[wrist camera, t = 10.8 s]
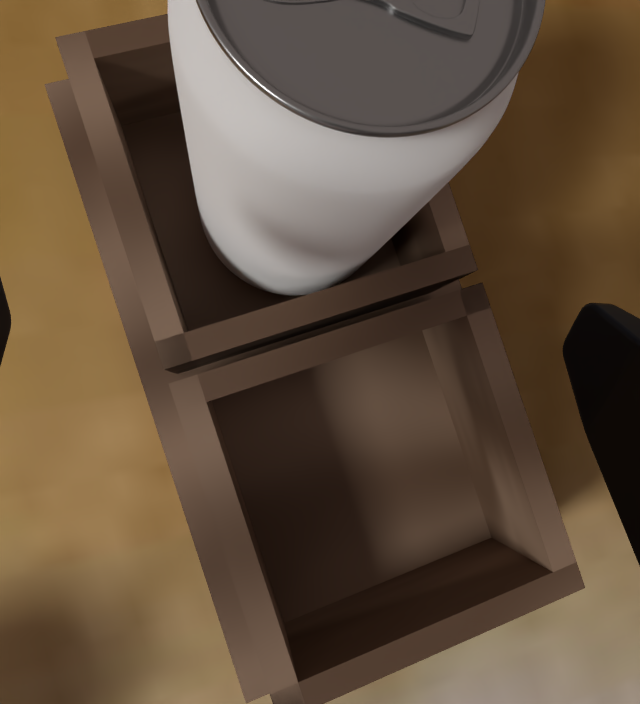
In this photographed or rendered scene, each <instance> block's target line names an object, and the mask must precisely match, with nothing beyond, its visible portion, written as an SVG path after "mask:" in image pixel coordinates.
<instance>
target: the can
mask: <svg viewBox="0 0 640 704" xmlns="http://www.w3.org/2000/svg"><path fill="white" fill-rule="evenodd" d="M544 7H545V0H168V28H169V37H170V46H171V53H172V61H173V67H174V73H175V79H176V85H177V92H178V97H179V103H180V109H181V115H182V121H183V126H184V132H185V138H186V143H187V149H188V155H189V161H190V166H191V172H192V177H193V183H194V188H195V194H196V199H197V204H198V209H199V214H200V219H201V223H202V227H203V230H204V233H205V235H206V238H207V240H208V242H209V244H210V246H211V247H212V249H213V251H214V252H215V254H216V255H217V257H218V258H219V259H220V260H221V262H222V263H223V264H224V265H225V266H226V267H227V268H228V269H229V270H230V271H231V272H232V273H234V274H235V275H236V276H237V277H239V278H240V279H242V280H243V281H245V282H246V283H248V284H250V285H252V286H254V287H256V288H259V289H261V290H264V291H267V292H271V293H275V294H281V295H307V294H311V293H314V292H318V291H321V290H324V289H327V288H331V287H333V286H335V285H337V284H339V283H340V282H342V281H344V280H345V279H347V278H348V277H349V276H350V275H352V274H353V273H354V272H355V271H356V270H358V269H359V268H360V267H361V266H362V265H363V264H364V263H365V262H366V261H367V260H368V259H369V258H371V257H372V256H373V255H374V254H375V253H376V252H377V251H378V250H379V249H380V248H381V247H382V246H383V245H384V244H385V243H386V242H387V241H388V240H389V239H390V238H392V237H393V236H394V235H395V234H396V233H397V232H398V231H399V230H400V229H401V228H402V227H403V226H404V225H405V224H406V223H407V222H408V221H409V220H410V219H411V218H412V217H413V216H414V215H415V214H416V213H417V212H418V211H419V210H420V209H421V208H422V207H423V206H425V205H426V204H427V203H428V202H429V201H430V200H431V199H432V198H433V197H434V196H435V195H436V194H437V193H438V192H439V191H440V190H441V189H442V188H443V187H444V186H445V185H446V184H447V183H448V182H449V181H450V180H451V179H452V178H453V177H454V176H455V175H456V174H457V173H458V172H459V171H460V170H461V169H462V168H463V167H464V166H465V165H466V164H467V163H468V161H469V160H470V159H471V158H472V157H473V156H474V155H475V154H476V153H477V152H478V151H479V149H480V148H481V147H482V146H483V145H484V143H485V142H486V140H487V139H488V138H489V136H490V135H491V134H492V132H493V131H494V129H495V128H496V126H497V125H498V123H499V121H500V120H501V118H502V116H503V114H504V112H505V110H506V108H507V106H508V104H509V101H510V98H511V96H512V93H513V90H514V87H515V83H516V80H517V76H518V72H519V71H520V69H521V68H522V66H523V64H524V63H525V61H526V59H527V58H528V56H529V54H530V52H531V50H532V47H533V45H534V43H535V40H536V38H537V35H538V32H539V29H540V25H541V22H542V17H543V13H544Z"/></svg>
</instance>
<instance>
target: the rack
mask: <svg viewBox="0 0 640 704" xmlns="http://www.w3.org/2000/svg"><path fill="white" fill-rule="evenodd" d="M55 38H56V41H57V44H58V47H59V50H60V53H61V56H62V59H63V62H64V65H65V68H66V71H67V74H68V78H69V79H66V80H62V81H57V82H53V83H48V84H45V87H46V90H47V93H48V96H49V99H50V102H51V105H52V109H53V112H54V115H55V118H56V121H57V124H58V127H59V130H60V133H61V136H62V139H63V142H64V145H65V148H66V152H67V155H68V158H69V161H70V164H71V167H72V170H73V173H74V176H75V179H76V182H77V185H78V188H79V191H80V194H81V198H82V201H83V204H84V207H85V210H86V213H87V216H88V219H89V222H90V225H91V228H92V231H93V234H94V237H95V241H96V244H97V247H98V250H99V253H100V256H101V259H102V262H103V265H104V268H105V271H106V274H107V277H108V280H109V284H110V287H111V290H112V293H113V296H114V299H115V302H116V305H117V308H118V311H119V314H120V317H121V320H122V323H123V326H124V330H125V333H126V336H127V339H128V342H129V345H130V348H131V351H132V354H133V357H134V360H135V363H136V366H137V369H138V373H139V376H140V379H141V382H142V385H143V388H144V391H145V394H146V397H147V400H148V403H149V406H150V409H151V412H152V415H153V419H154V422H155V425H156V428H157V431H158V434H159V437H160V440H161V443H162V446H163V449H164V452H165V455H166V458H167V462H168V465H169V468H170V471H171V474H172V477H173V480H174V483H175V486H176V489H177V492H178V495H179V498H180V501H181V504H182V508H183V511H184V514H185V517H186V520H187V523H188V526H189V529H190V532H191V535H192V538H193V541H194V544H195V547H196V551H197V554H198V557H199V560H200V563H201V566H202V569H203V572H204V575H205V578H206V581H207V584H208V587H209V590H210V593H211V597H212V600H213V603H214V606H215V609H216V612H217V615H218V618H219V621H220V624H221V627H222V630H223V633H224V636H225V640H226V643H227V646H228V649H229V652H230V655H231V658H232V661H233V664H234V667H235V670H236V673H237V676H238V679H239V683H240V686H241V689H242V692H243V695H244V698H245V701H246V703H248V702H251V701H253V700H255V699H258V698H260V697H262V696H265V695H267V694H269V693H270V696H271V699H272V702H273V704H324V703H326V702H328V701H331V700H333V699H335V698H337V697H340V696H342V695H344V694H346V693H349V692H351V691H353V690H356V689H358V688H360V687H362V686H365V685H367V684H369V683H371V682H374V681H376V680H378V679H380V678H383V677H385V676H387V675H389V674H392V673H394V672H396V671H398V670H401V669H403V668H405V667H407V666H410V665H412V664H414V663H416V662H419V661H421V660H423V659H426V658H428V657H430V656H432V655H435V654H437V653H439V652H441V651H444V650H446V649H448V648H450V647H453V646H455V645H457V644H459V643H462V642H464V641H466V640H468V639H471V638H473V637H475V636H477V635H480V634H482V633H484V632H487V631H489V630H491V629H493V628H496V627H498V626H500V625H502V624H505V623H507V622H509V621H511V620H514V619H516V618H518V617H520V616H523V615H525V614H527V613H529V612H532V611H534V610H536V609H538V608H541V607H543V606H545V605H547V604H550V603H552V602H554V601H557V600H559V599H561V598H563V597H566V596H568V595H570V594H572V593H575V592H577V591H579V590H581V589H584V588H585V586H584V583H583V580H582V577H581V574H580V571H579V568H578V565H577V562H576V559H575V556H574V553H573V550H572V547H571V544H570V541H569V538H568V535H567V532H566V529H565V526H564V523H563V521H562V518H561V515H560V512H559V509H558V506H557V503H556V500H555V497H554V494H553V491H552V488H551V485H550V482H549V479H548V476H547V473H546V470H545V467H544V464H543V461H542V458H541V455H540V452H539V449H538V446H537V443H536V440H535V437H534V435H533V432H532V429H531V426H530V423H529V420H528V417H527V414H526V411H525V408H524V405H523V402H522V399H521V396H520V393H519V390H518V387H517V384H516V381H515V378H514V375H513V372H512V369H511V366H510V363H509V360H508V357H507V354H506V351H505V348H504V346H503V343H502V340H501V337H500V334H499V331H498V328H497V325H496V322H495V319H494V316H493V313H492V310H491V307H490V304H489V301H488V298H487V295H486V292H485V289H484V286H483V283H479V284H476V285H473V286H470V287H467V288H463V289H462V288H461V285H460V282H459V279H460V278H462V277H464V276H466V275H468V274H471V273H473V272H475V271H477V270H478V268H477V265H476V262H475V260H474V257H473V254H472V251H471V248H470V245H469V242H468V239H467V236H466V233H465V230H464V227H463V224H462V221H461V218H460V215H459V212H458V209H457V206H456V203H455V200H454V197H453V194H452V191H451V188H450V185H449V182H448V183H447V184H446V185H445V186H444V187H443V188H442V189H441V190H440V191H439V192H438V193H437V194H436V195H435V196H434V197H433V198H432V199H431V200H430V201H429V202H428V203H427V204H426V205H425V206H423V207H422V208H421V209H420V210H419V211H418V212H417V213H416V214H415V215H414V216H413V217H412V218H411V219H410V220H409V221H408V222H407V223H406V224H405V225H404V226H403V227H402V228H401V229H400V230H399V231H398V232H397V233H396V234H395V235H394V236H393V237H392V238H390V239H389V240H388V241H387V242H386V243H385V244H384V245H383V246H382V247H381V248H380V249H379V250H378V251H377V252H376V253H375V254H374V255H373V256H372V257H371V258H369V259H368V260H367V261H366V262H365V263H364V264H363V265H362V266H361V267H360V268H359V269H358V270H356V271H355V272H354V273H353V274H352V275H350V276H349V277H348V278H347V279H345V280H344V281H342V282H340V283H339V284H337V285H335V286H333V287H331V288H327V289H324V290H321V291H318V292H314V293H311V294H307V295H281V294H275V293H271V292H267V291H264V290H261V289H259V288H256V287H254V286H252V285H250V284H248V283H246V282H245V281H243V280H242V279H240V278H239V277H237V276H236V275H235V274H234V273H232V272H231V271H230V270H229V269H228V268H227V267H226V266H225V265H224V264H223V263H222V262H221V260H220V259H219V258H218V257H217V255H216V254H215V252H214V251H213V249H212V247H211V246H210V244H209V242H208V240H207V238H206V235H205V233H204V230H203V227H202V223H201V219H200V214H199V209H198V204H197V199H196V194H195V188H194V183H193V177H192V172H191V166H190V161H189V155H188V149H187V143H186V138H185V132H184V126H183V121H182V115H181V109H180V103H179V97H178V92H177V85H176V79H175V73H174V67H173V61H172V53H171V46H170V37H169V28H168V14H165V15H160V16H155V17H151V18H146V19H141V20H136V21H131V22H127V23H122V24H117V25H112V26H107V27H103V28H98V29H93V30H88V31H84V32H79V33H74V34H69V35H64V36H60V37H55Z"/></svg>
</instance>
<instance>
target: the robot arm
mask: <svg viewBox="0 0 640 704" xmlns="http://www.w3.org/2000/svg"><path fill="white" fill-rule="evenodd" d="M10 328H11V315H10V310H9V307H8V303H7V299H6V296H5V292H4V288H3V285H2V281H1V278H0V365H1V362H2V358H3V354H4V351H5V347H6V344H7V340H8V336H9V333H10ZM563 357H564V360H565V364H566V367H567V371H568V375H569V378H570V382H571V385H572V389H573V392H574V396H575V399H576V403H577V406H578V410H579V413H580V417H581V420H582V423H583V426H584V429H585V433H586V435H587V438H588V440H589V443H590V446H591V448H592V451H593V453H594V455H595V458H596V460H597V463H598V465H599V468H600V470H601V473H602V475H603V477H604V480H605V482H606V485H607V487H608V490H609V492H610V495H611V497H612V499H613V502H614V504H615V507H616V509H617V512H618V514H619V517H620V519H621V521H622V524H623V526H624V529H625V531H626V534H627V536H628V539H629V541H630V543H631V546H632V548H633V551H634V553H635V556H636V558H637V561H638V563H639V565H640V319H639V318H637V317H635V316H634V315H632V314H630V313H628V312H626V311H624V310H623V309H621V308H619V307H617V306H615V305H612V304H604V303H589V304H586V305H585V306H584V307H583V308H582V309H581V311H580V312H579V314H578V316H577V318H576V320H575V322H574V324H573V326H572V328H571V329H570V331H569V333H568V335H567V337H566V339H565V341H564V345H563Z"/></svg>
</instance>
